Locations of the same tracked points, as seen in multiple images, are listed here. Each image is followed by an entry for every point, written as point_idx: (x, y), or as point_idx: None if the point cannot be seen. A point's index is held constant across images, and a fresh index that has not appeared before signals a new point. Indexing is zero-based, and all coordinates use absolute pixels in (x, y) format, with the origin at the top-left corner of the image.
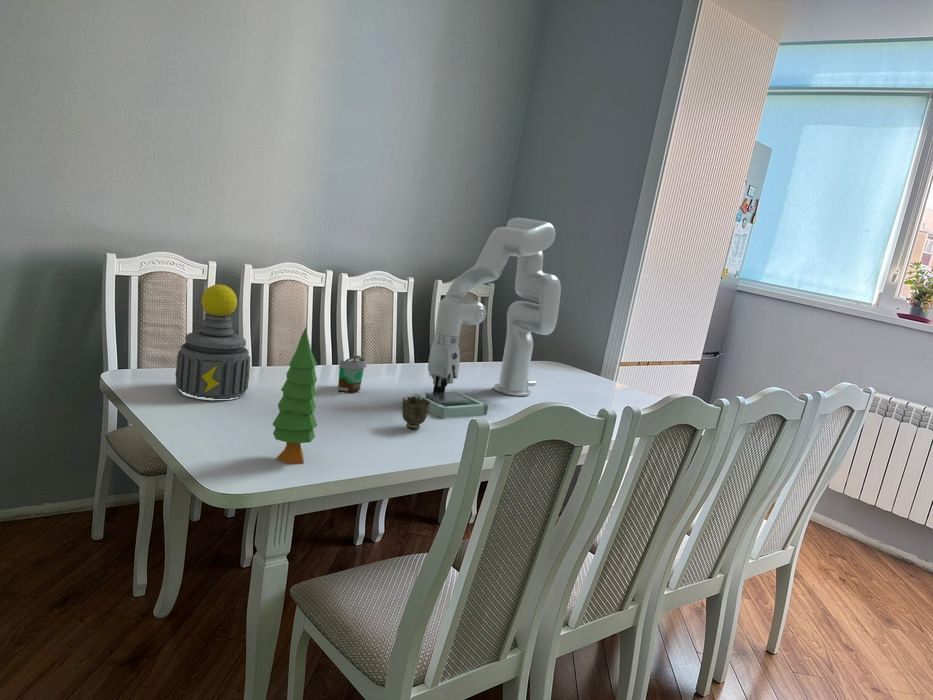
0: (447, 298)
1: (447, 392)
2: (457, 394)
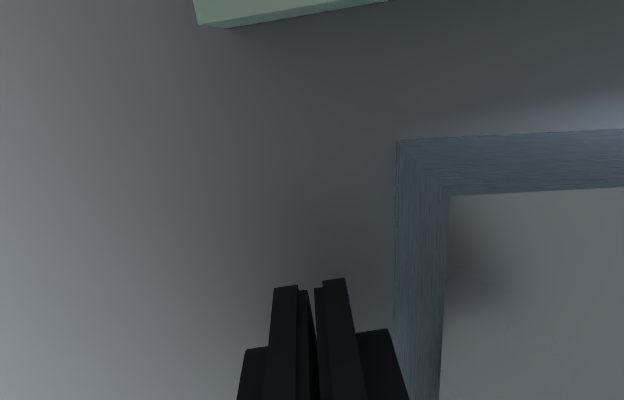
0: None
1: (455, 336)
2: (606, 211)
